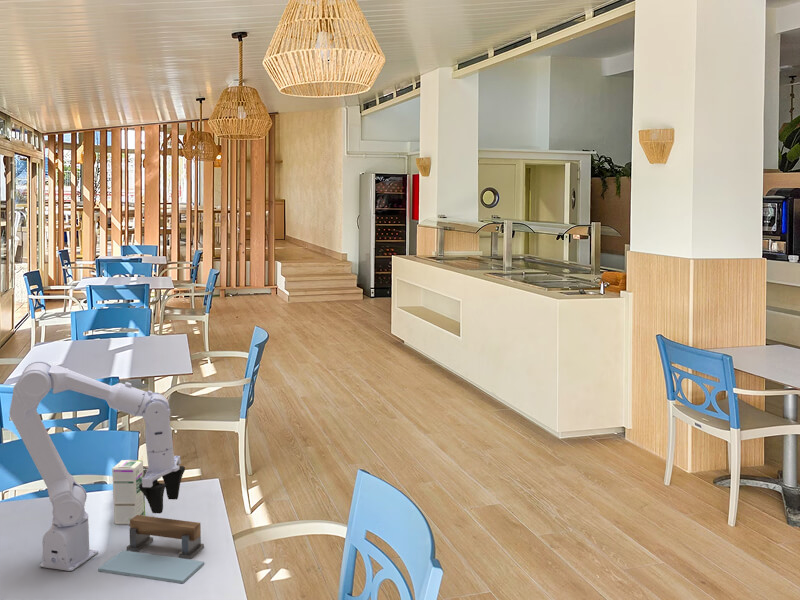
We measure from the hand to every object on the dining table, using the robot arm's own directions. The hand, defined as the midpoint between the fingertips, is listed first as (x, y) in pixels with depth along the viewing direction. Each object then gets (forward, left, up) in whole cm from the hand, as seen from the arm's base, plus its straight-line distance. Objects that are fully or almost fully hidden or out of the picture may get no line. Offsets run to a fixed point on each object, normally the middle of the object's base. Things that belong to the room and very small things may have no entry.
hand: (165, 505), depth 175 cm
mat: (-10, -2, -10) cm, 14 cm away
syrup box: (+11, +17, -10) cm, 22 cm away
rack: (-1, 0, -10) cm, 10 cm away
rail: (-1, 0, -6) cm, 6 cm away
